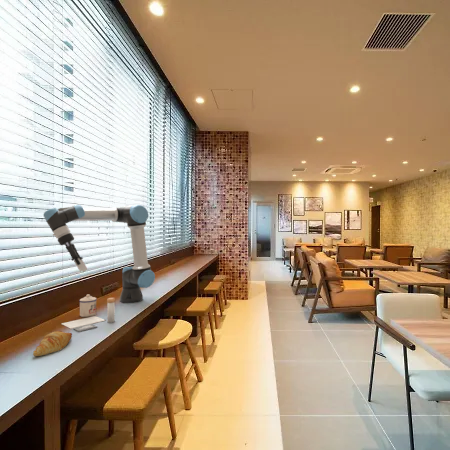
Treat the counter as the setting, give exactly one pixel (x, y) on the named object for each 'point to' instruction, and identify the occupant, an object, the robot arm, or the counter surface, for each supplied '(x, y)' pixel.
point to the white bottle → (110, 310)
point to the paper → (82, 322)
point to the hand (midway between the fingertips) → (84, 270)
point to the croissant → (52, 343)
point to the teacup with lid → (88, 306)
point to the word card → (85, 328)
